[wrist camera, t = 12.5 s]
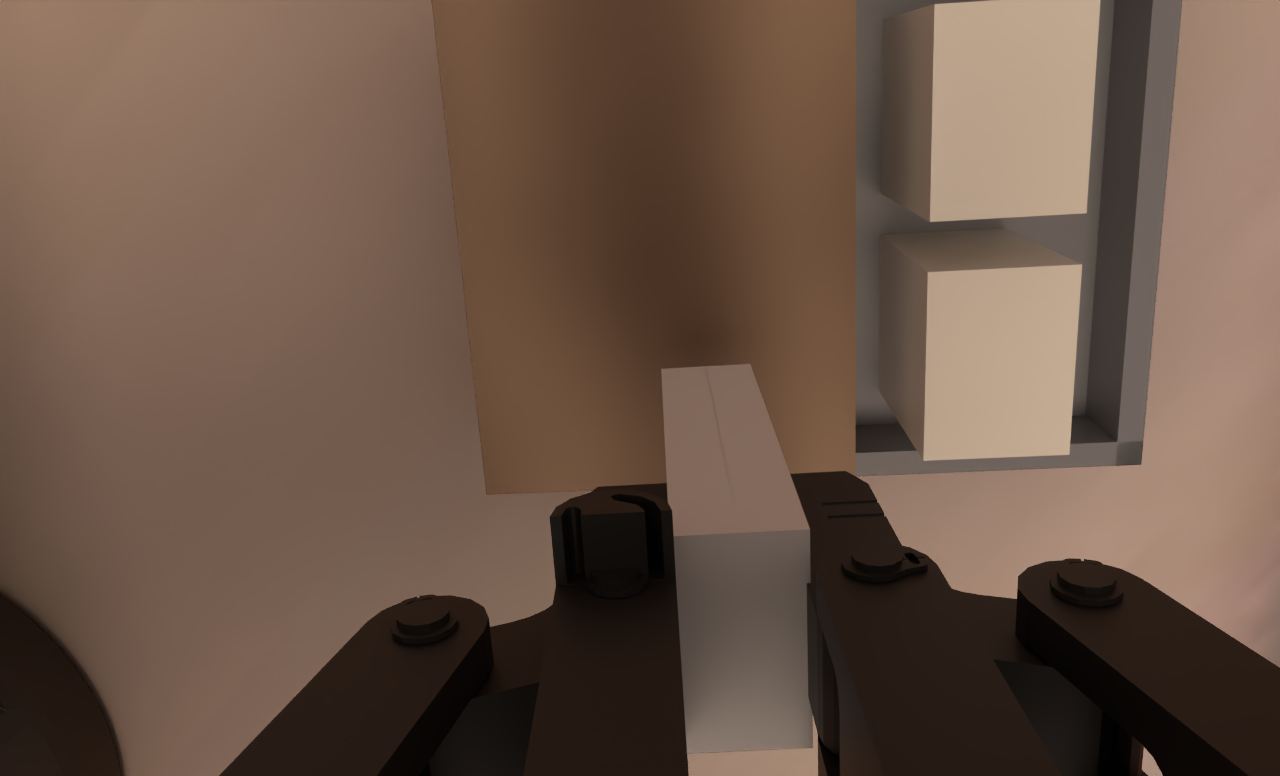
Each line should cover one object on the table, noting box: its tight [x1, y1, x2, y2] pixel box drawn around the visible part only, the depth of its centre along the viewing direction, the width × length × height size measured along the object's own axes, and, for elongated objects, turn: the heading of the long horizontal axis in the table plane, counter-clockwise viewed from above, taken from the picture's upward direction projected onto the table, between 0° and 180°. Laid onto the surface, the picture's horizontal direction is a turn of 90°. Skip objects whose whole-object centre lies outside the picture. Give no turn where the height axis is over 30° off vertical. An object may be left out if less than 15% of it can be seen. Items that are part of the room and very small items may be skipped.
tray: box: [855, 0, 1182, 476], centre depth 24 cm, size 7×12×3 cm, turn 4°
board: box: [432, 0, 856, 495], centre depth 24 cm, size 8×11×4 cm
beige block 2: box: [879, 228, 1082, 461], centre depth 23 cm, size 5×4×3 cm
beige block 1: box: [881, 0, 1100, 222], centre depth 22 cm, size 5×4×3 cm
